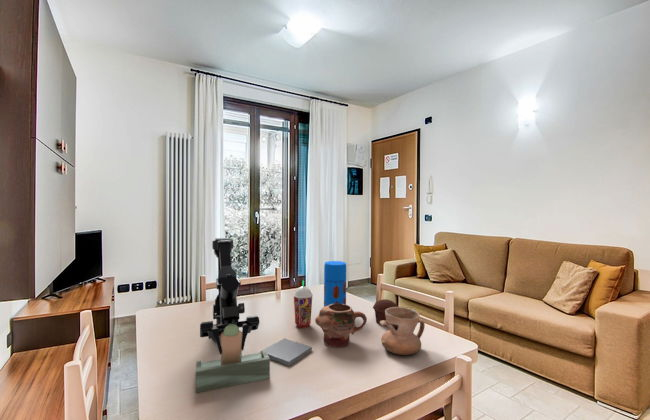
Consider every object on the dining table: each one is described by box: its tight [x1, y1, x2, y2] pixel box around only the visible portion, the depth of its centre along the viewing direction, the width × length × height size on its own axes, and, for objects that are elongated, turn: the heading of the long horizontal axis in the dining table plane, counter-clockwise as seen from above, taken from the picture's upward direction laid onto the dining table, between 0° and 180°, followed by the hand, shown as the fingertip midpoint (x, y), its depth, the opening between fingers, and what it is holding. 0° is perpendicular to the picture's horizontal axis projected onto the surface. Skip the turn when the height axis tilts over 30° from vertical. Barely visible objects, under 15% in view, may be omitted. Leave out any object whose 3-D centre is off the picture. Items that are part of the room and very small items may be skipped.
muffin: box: [372, 298, 399, 327], centre depth 143 cm, size 12×11×10 cm
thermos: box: [323, 260, 347, 307], centre depth 153 cm, size 11×11×25 cm
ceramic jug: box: [379, 306, 425, 356], centre depth 116 cm, size 18×14×14 cm
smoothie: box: [293, 280, 313, 329], centre depth 139 cm, size 8×8×20 cm
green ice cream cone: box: [220, 324, 243, 365], centre depth 101 cm, size 6×6×13 cm
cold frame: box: [195, 349, 271, 394], centre depth 99 cm, size 13×21×6 cm, turn 112°
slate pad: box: [259, 337, 313, 367], centre depth 113 cm, size 13×13×2 cm
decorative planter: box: [314, 303, 368, 348], centre depth 122 cm, size 20×12×14 cm, turn 97°
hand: (231, 351), depth 100 cm, fingers closed on green ice cream cone, 6 cm apart
